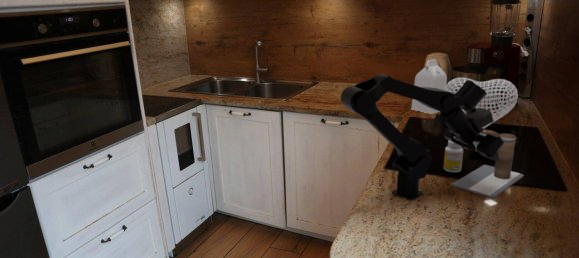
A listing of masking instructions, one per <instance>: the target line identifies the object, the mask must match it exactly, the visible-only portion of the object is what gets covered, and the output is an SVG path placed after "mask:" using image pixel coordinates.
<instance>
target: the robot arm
mask: <svg viewBox="0 0 579 258" xmlns="http://www.w3.org/2000/svg"><path fill="white" fill-rule="evenodd" d="M460 87H461V86H460ZM386 93H392V94H395V95H399V96H402V97H405V98H409V99H411V100H413V99H414V100H417V101H419V102H420V103H422V104H423V105H425V106H427V107H429V108H432V109H434V110H437V111H440V113H439V114H435V116H434V117H433V118H434V119H433V122H434V123H435V124H437V125H440V126H443V125H446V126H447V128H445V129H444V131H443V137H444V139H446V140H448V141H449V140H450V141H451V142H453V143H456V144H458V145H460V146H461V147H462V146H463V147H465V148H467V149H470V150H469V151H471V150H472V152H476V151H475V150H477V151H478V152H477V153H479V154H480V156H483V157H484V158H487V159H490V160H492V161H495V162H496V161H498V160H499V155H498V151H497V150H498V149H499V148H500V147H501V146H502V145H503V144H504V141H503V139H502V138H501V137H500V136H497V135H494V134H492V133H490V134H487V135H486V136H483V135H480V134H479V133H482V132H483V131H484V129H485V128H484V129H483V128H482V127H485V126H486V125H488V124H489V123H492V122H493V121H494V120H493V117H494V116H493V117H492V113H491V111H490V109H488V110H486V108H484V109H483V108H475V107H477V104H478V103H479V102H480V103H481V100H482V99H483V98H484V99H485V96H487V93H486V92H485V90H484V89H482V87H479V86H478V85H476V84H474V82H473V81H470V80H467V81H466V82H465V83H463V86H462V87H461V88H460V89H459V90H458V89H457V92H456V93H455V94H453V93H454V92H452V93H451V92H448V91H445V90H441V89H438V88H430V87H419V86H415V85H414V84H412V83H409V82H406V81H402V80H399V79H396V78H393V77H391V76H390V75H387V74H383V73H379V74H377V75H375V76H373V77H371V78H369V79H366V80H364V81H360V82H358V83H356V84H355V85H350V86H347V87H345V88H344V89H343V90H342V92H341V94H340V103H341V105H343V107H345V108H347V109H349V110H350V111H352V112H354V113H355V114H357V115H359V117H361V118H363V119H365V121H367V123H369V125H371V126H372V128H373V129H375V131H377V132H378V133H379V134H380V135H381V136H382V137H383V138H384V139H385V140H386V141H387V142H388V143H389V144H390V145H392V146H393V148H395V151H396V154H397V155H398V156H397V157H396V158H395V160H393V161H392V162H391V163H392V167H393V170H395V171H397V172H398V173H397V178H396V179H397V181H396V189H394V190H392V191H391V194H393V195H394V196H395V195H396V196H398V197H400V198H403V199H406V200H409V201H414V199H416V198H418V197H420V196H422V195H423V194H424V191H422V190H419V189H420V179H425V177H426V175H427V173H428V170H429V168H430V166H431V163H432V159H433V158H432V155H431V154H430V153H432V152H431V150H430V149H429V150H428V149H427V148H426V147H425V145H424V144H423V142H420V141H419V140H417V139H414V138H412V137H411V136H409V137H408V138H407V137H406V136H405V135H404V134H403V133H402V132H401V131H400V130H399V129H398V128H397V127H396V126H395V125H394V124H393V123H392V122H391V121H390V120H389V119H388V118H387V117H386V116H385V115H384V114H383V113H382V112H381V111H380V110H379V109H378V105H377V102H379V101H380V100H381V98H383V96H385V94H386ZM478 105H479V104H478ZM462 109H463V110H465V112H466V113H464V112H463V110H462ZM493 123H494V122H493ZM493 123H492V124H493ZM474 141H475V142H477V143H479V144H478V145H477V149H476V147H475V145H474V144H473V142H474ZM463 147H462V148H463ZM467 149H466V150H467Z"/></svg>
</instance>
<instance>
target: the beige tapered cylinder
mask: <svg viewBox="0 0 579 258" xmlns="http://www.w3.org/2000/svg"><path fill="white" fill-rule="evenodd" d="M498 134H499V136H500V137H501V138H502V139H503V141H504V144H503V145H502V146H501V147H500V148H499V149H498V150H497V151H498V155H499V160H498V161H495V163H494V167H495V170H494V176H495V177H496V178H500V179H509V178H510V176H511V171H512V169H513V168H512V167H513V162H514V161H513V160H514V155H515V154H514V152H515V145H516V142H517V141H516V140H517V136H516V135H515V134H513V133H512V134H511V133H498Z"/></svg>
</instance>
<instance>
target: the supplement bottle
mask: <svg viewBox="0 0 579 258" xmlns="http://www.w3.org/2000/svg"><path fill="white" fill-rule="evenodd" d="M463 155H464V148H463V147H462V146H460V145H458V144H456V143H453V142H451V141H450V140H448V142H447V146H446V147H445V150H444V158H443V169H444V170H445V172H449V173H459V172H461V171H462V166H463V157H464V156H463Z"/></svg>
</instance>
